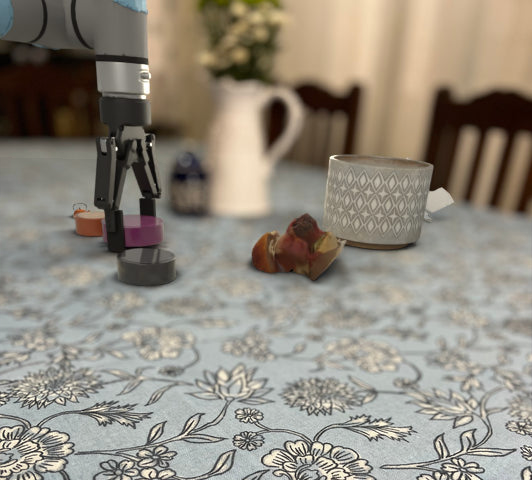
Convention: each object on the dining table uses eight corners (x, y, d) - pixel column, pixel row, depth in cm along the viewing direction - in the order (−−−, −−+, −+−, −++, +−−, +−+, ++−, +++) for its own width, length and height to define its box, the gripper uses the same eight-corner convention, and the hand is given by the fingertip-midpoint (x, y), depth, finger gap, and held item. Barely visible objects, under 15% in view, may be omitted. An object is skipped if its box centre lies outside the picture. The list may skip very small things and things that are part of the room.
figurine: (402, 253, 121) (436, 225, 127) (427, 223, 110) (463, 194, 116) (357, 209, 123) (393, 184, 129) (378, 176, 113) (415, 150, 118)
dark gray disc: (106, 280, 70) (104, 258, 69) (135, 265, 77) (134, 244, 76) (159, 289, 69) (159, 267, 67) (185, 272, 76) (184, 252, 74)
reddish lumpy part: (344, 254, 73) (294, 203, 71) (283, 312, 78) (235, 266, 76) (348, 230, 87) (306, 186, 85) (296, 280, 92) (255, 240, 90)
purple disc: (90, 241, 84) (88, 222, 82) (122, 229, 92) (121, 211, 91) (146, 249, 81) (145, 230, 80) (173, 235, 90) (173, 218, 89)
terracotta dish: (68, 233, 91) (66, 216, 90) (89, 226, 97) (88, 209, 95) (100, 238, 90) (99, 220, 88) (120, 230, 95) (119, 213, 94)
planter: (395, 228, 110) (407, 157, 104) (435, 253, 94) (452, 169, 88) (311, 227, 107) (318, 152, 100) (337, 252, 91) (348, 165, 84)
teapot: (77, 214, 104) (76, 201, 103) (91, 216, 104) (90, 202, 103) (70, 217, 102) (68, 203, 101) (84, 218, 101) (82, 205, 100)
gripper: (105, 96, 67) (118, 263, 77) (180, 99, 86) (182, 232, 96) (55, 93, 68) (73, 257, 78) (139, 96, 88) (146, 227, 98)
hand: (133, 243), depth 87 cm, fingers closed on purple disc, 10 cm apart
